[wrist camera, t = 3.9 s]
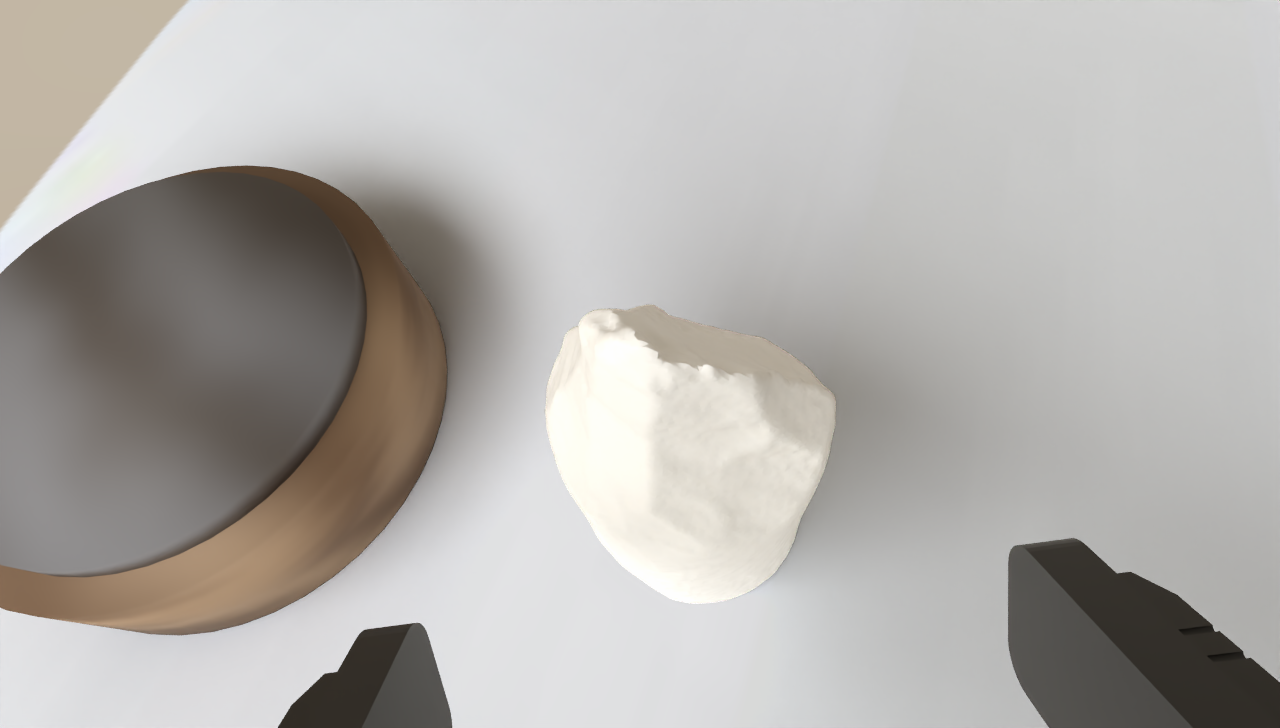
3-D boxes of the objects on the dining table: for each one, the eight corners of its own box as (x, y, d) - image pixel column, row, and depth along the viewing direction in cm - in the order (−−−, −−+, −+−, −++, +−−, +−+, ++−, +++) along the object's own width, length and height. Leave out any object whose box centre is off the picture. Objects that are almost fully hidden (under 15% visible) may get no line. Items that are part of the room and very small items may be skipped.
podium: (237, 189, 30) (155, 100, 26) (528, 319, 25) (487, 238, 21) (-56, 499, 25) (-220, 452, 20) (244, 735, 20) (112, 738, 16)
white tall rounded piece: (886, 188, 11) (848, 531, 9) (810, 446, 22) (783, 634, 20) (535, 150, 12) (420, 444, 10) (624, 413, 23) (577, 585, 21)
